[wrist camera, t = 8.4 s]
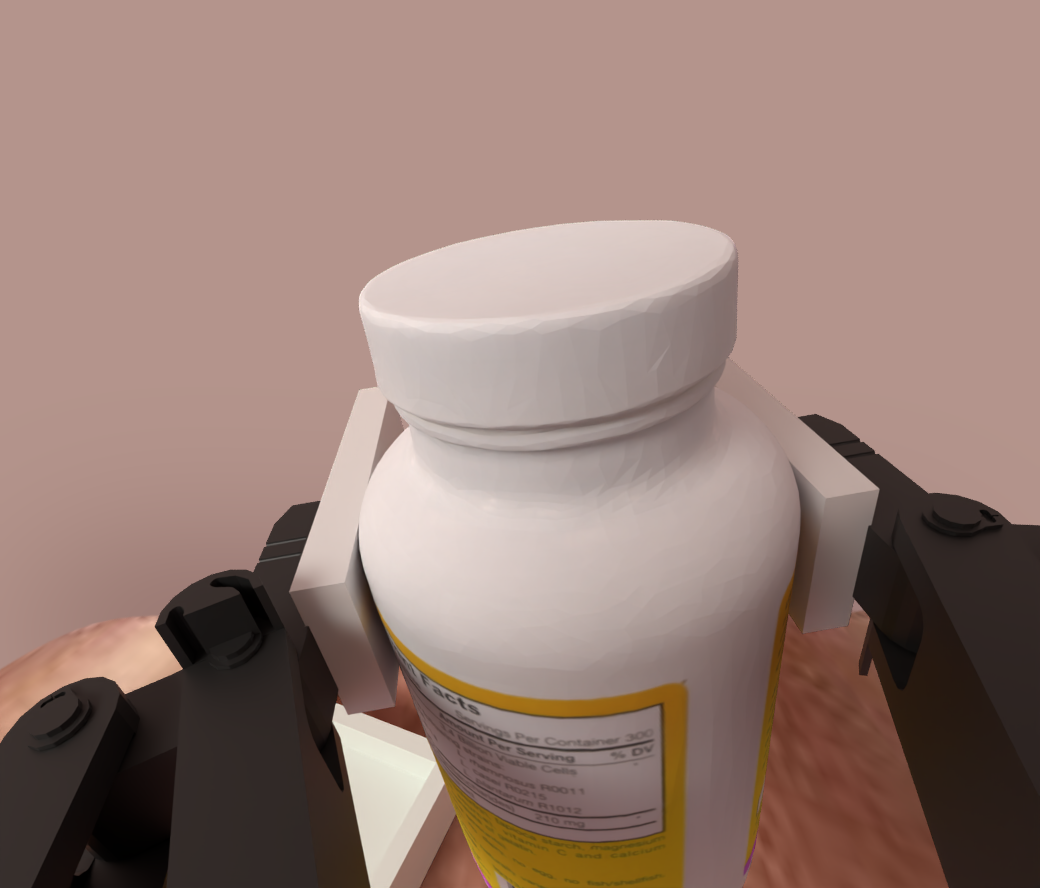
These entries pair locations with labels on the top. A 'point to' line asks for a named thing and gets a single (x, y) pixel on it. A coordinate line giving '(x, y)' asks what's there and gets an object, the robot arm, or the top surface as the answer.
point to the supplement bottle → (582, 549)
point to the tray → (394, 798)
